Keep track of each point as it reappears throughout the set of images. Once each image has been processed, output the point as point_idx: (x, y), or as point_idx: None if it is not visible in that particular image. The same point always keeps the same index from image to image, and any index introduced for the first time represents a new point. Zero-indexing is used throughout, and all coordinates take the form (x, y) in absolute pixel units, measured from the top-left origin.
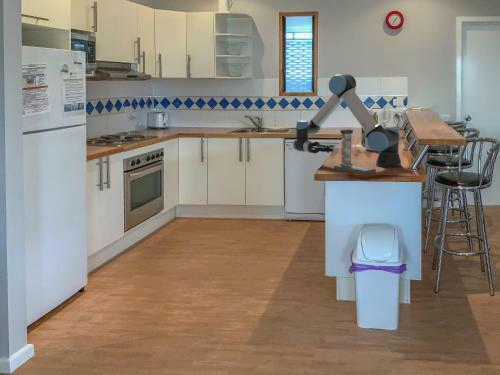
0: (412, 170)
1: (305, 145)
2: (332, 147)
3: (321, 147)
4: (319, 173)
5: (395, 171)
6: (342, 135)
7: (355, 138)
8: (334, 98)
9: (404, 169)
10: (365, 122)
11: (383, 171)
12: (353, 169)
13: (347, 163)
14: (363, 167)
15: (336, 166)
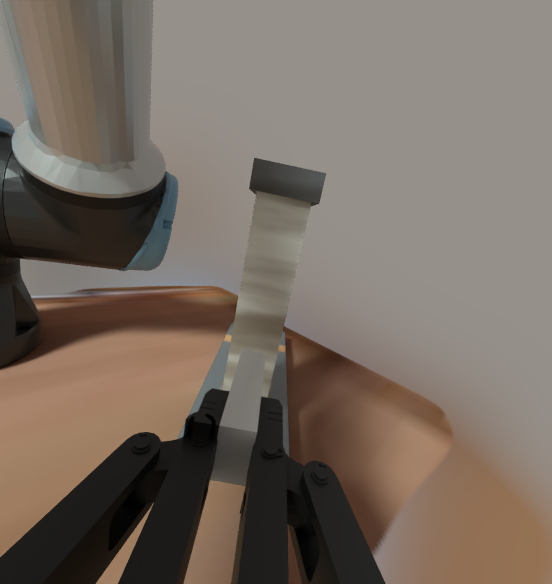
0: (117, 295)
1: None
2: (159, 444)
3: (360, 569)
4: (445, 450)
5: (165, 311)
6: (306, 219)
7: None
8: None
9: (101, 304)
10: (150, 94)
11: (186, 327)
12: (285, 360)
13: None
14: (222, 349)
15: (288, 444)
